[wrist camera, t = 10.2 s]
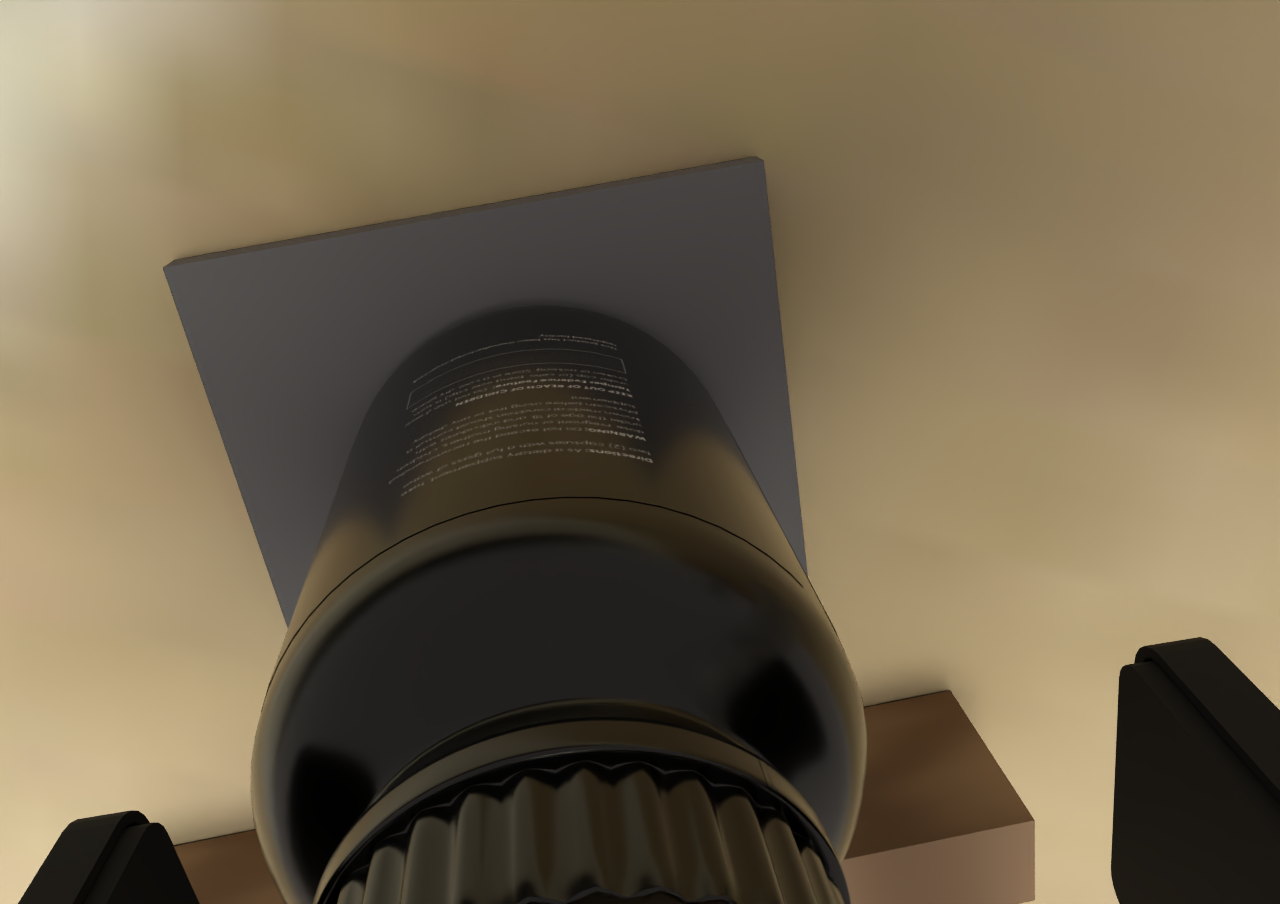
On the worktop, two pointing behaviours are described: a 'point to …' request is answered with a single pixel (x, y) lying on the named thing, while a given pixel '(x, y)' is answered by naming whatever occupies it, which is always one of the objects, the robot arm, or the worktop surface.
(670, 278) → the pad
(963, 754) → the walnut rail
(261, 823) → the supplement bottle
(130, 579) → the worktop surface
